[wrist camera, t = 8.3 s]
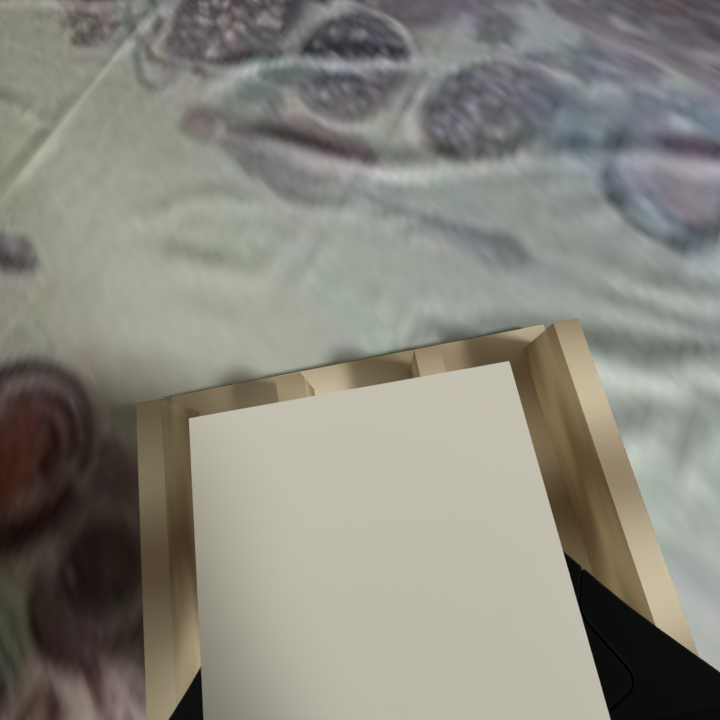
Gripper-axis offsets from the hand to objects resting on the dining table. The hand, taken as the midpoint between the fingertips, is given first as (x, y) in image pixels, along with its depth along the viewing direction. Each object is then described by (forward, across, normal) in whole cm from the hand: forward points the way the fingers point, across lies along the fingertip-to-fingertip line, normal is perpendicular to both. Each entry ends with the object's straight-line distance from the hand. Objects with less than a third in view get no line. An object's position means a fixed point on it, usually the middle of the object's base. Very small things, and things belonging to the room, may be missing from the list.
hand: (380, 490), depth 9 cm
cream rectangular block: (+4, 0, +6) cm, 7 cm away
